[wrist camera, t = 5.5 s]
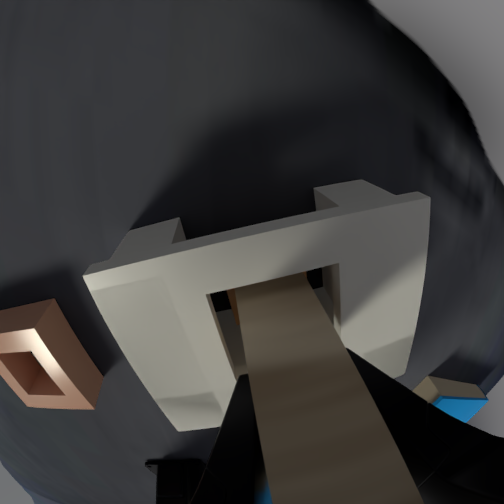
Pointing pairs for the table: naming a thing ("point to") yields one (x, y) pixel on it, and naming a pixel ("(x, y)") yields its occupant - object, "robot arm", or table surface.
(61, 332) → the holder
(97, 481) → the table surface
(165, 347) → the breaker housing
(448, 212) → the table surface
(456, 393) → the book
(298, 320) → the tan square peg
